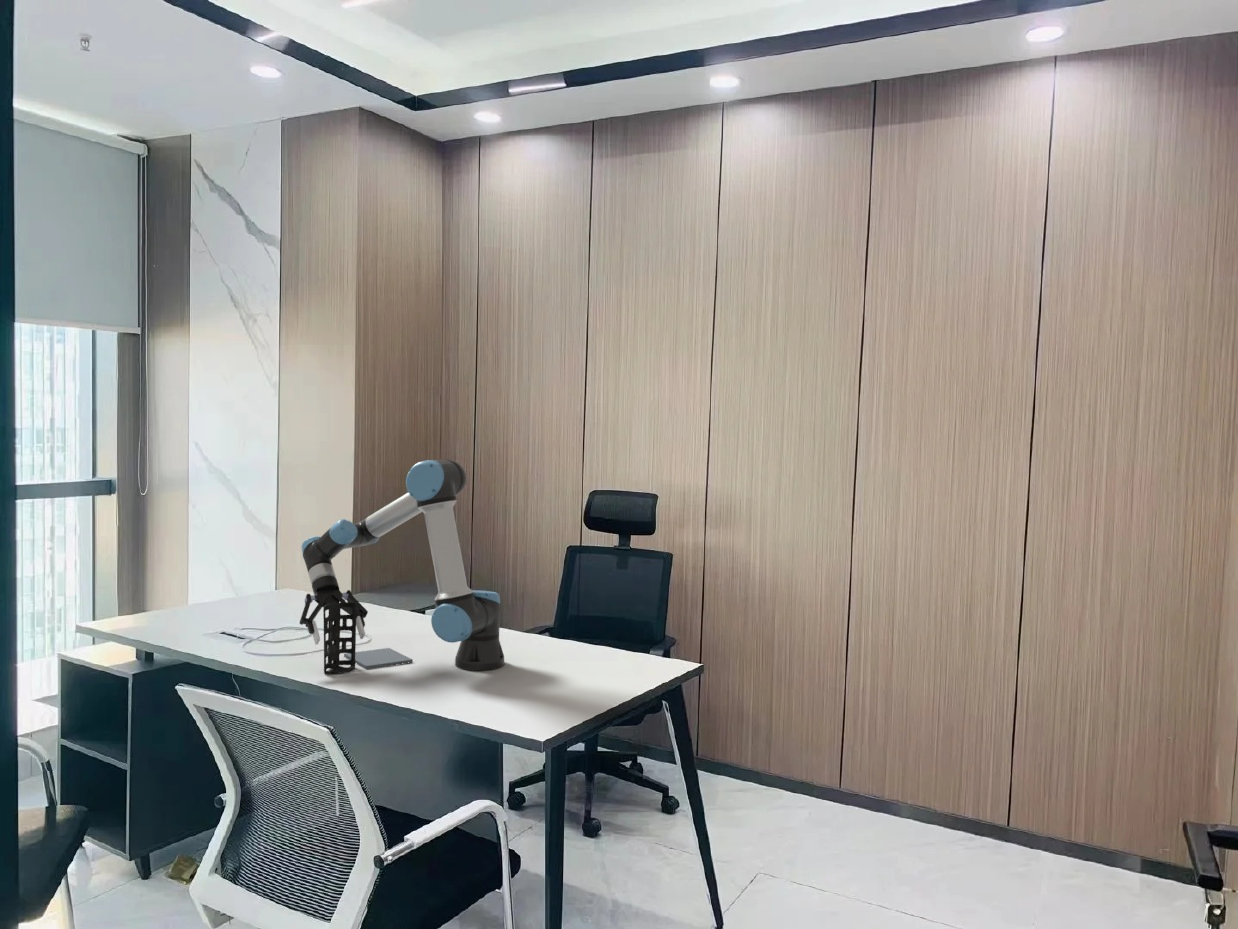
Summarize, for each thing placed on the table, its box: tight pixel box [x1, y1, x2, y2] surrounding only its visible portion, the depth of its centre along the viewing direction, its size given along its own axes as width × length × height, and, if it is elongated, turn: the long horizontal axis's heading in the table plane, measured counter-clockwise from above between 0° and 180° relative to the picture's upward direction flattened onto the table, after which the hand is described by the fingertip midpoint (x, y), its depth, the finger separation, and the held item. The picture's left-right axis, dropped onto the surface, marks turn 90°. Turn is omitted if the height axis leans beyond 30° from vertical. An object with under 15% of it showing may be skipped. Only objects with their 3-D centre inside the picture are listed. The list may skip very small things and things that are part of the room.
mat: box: [343, 647, 414, 670], centre depth 279 cm, size 18×15×1 cm
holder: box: [322, 601, 357, 675], centre depth 265 cm, size 11×8×20 cm
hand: (340, 639), depth 264 cm, fingers open, 13 cm apart
